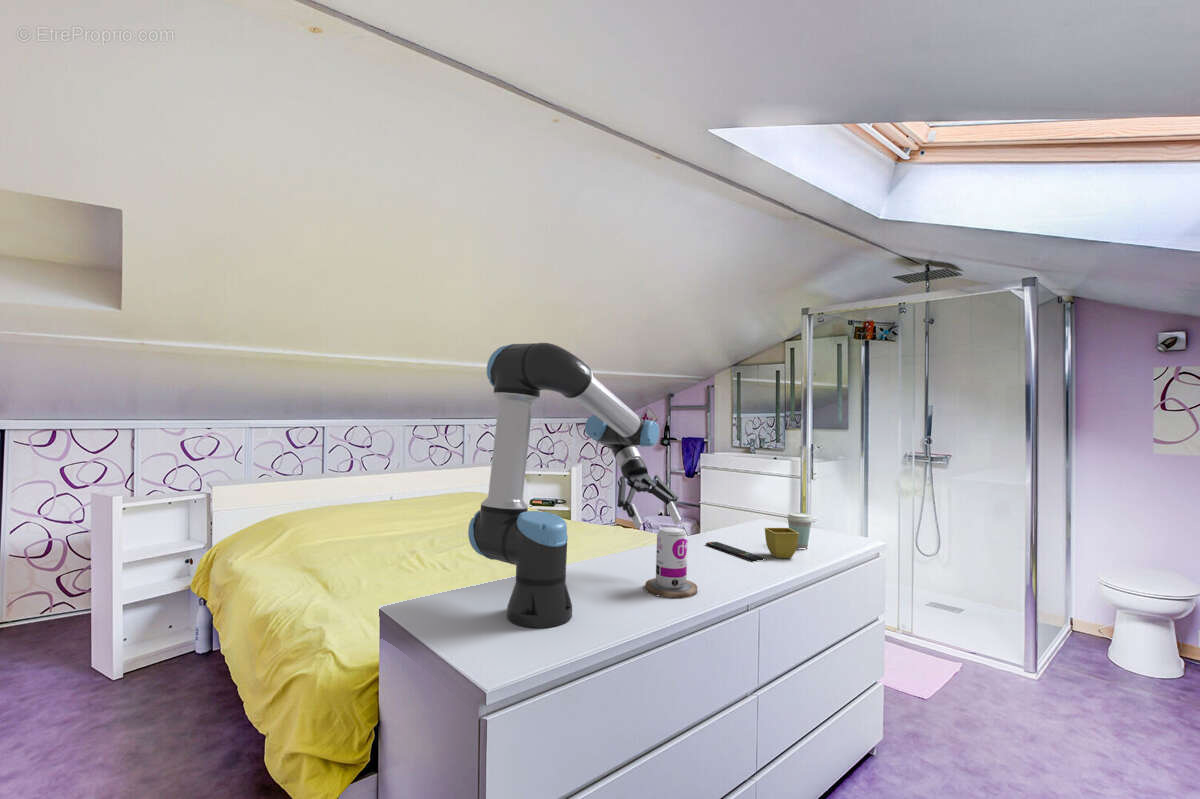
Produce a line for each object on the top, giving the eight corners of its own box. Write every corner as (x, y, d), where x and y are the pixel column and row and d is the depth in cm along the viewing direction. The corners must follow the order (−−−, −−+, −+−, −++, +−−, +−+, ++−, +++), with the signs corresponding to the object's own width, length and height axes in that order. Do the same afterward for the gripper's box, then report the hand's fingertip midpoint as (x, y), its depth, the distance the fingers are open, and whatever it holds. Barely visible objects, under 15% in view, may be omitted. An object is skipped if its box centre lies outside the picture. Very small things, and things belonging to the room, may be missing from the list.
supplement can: (692, 586, 155) (693, 530, 155) (669, 591, 150) (670, 533, 150) (672, 578, 162) (673, 525, 162) (649, 582, 157) (651, 528, 157)
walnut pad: (666, 601, 146) (666, 596, 146) (635, 585, 158) (635, 581, 158) (708, 593, 153) (708, 588, 154) (675, 579, 166) (675, 574, 166)
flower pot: (763, 553, 199) (764, 527, 199) (787, 553, 200) (788, 527, 200) (773, 560, 190) (774, 532, 190) (799, 560, 191) (799, 533, 191)
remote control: (752, 563, 187) (752, 559, 187) (704, 546, 208) (704, 542, 208) (764, 561, 189) (764, 557, 189) (716, 545, 210) (716, 541, 210)
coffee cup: (807, 545, 212) (808, 512, 212) (814, 551, 203) (815, 517, 204) (784, 544, 213) (785, 511, 213) (789, 549, 204) (790, 516, 204)
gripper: (659, 471, 184) (687, 528, 171) (591, 474, 171) (616, 535, 158) (670, 456, 179) (699, 513, 166) (601, 458, 167) (627, 519, 154)
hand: (659, 524), depth 162 cm, fingers open, 13 cm apart
